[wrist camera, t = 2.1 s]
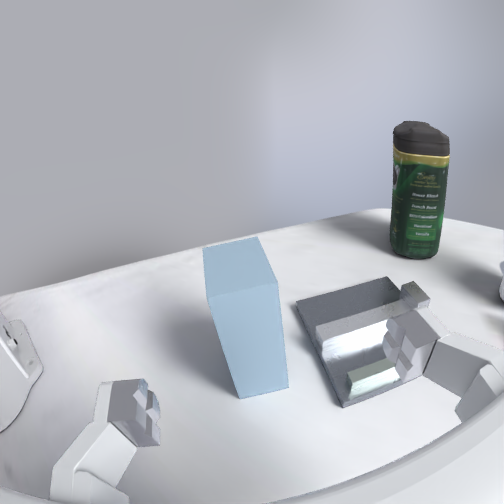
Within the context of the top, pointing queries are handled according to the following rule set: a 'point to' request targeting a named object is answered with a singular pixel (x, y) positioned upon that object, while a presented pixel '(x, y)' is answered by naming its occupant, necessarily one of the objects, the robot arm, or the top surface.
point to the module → (247, 315)
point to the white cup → (502, 289)
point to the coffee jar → (418, 188)
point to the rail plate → (357, 349)
